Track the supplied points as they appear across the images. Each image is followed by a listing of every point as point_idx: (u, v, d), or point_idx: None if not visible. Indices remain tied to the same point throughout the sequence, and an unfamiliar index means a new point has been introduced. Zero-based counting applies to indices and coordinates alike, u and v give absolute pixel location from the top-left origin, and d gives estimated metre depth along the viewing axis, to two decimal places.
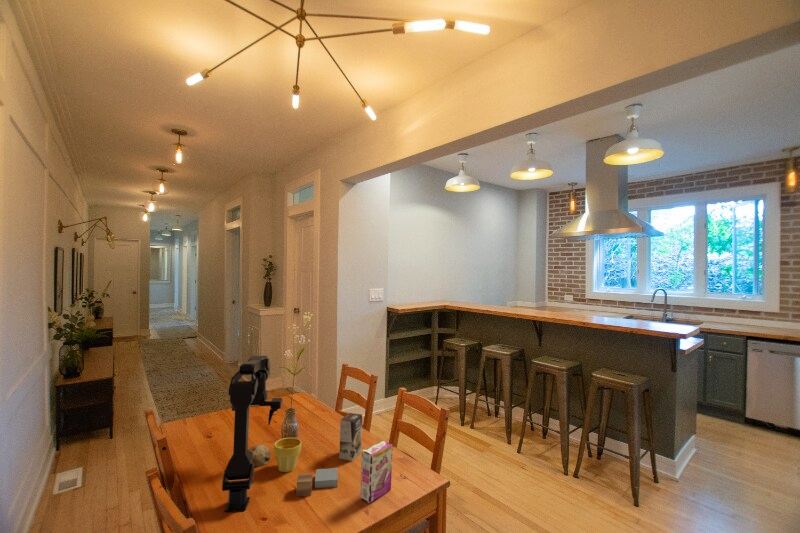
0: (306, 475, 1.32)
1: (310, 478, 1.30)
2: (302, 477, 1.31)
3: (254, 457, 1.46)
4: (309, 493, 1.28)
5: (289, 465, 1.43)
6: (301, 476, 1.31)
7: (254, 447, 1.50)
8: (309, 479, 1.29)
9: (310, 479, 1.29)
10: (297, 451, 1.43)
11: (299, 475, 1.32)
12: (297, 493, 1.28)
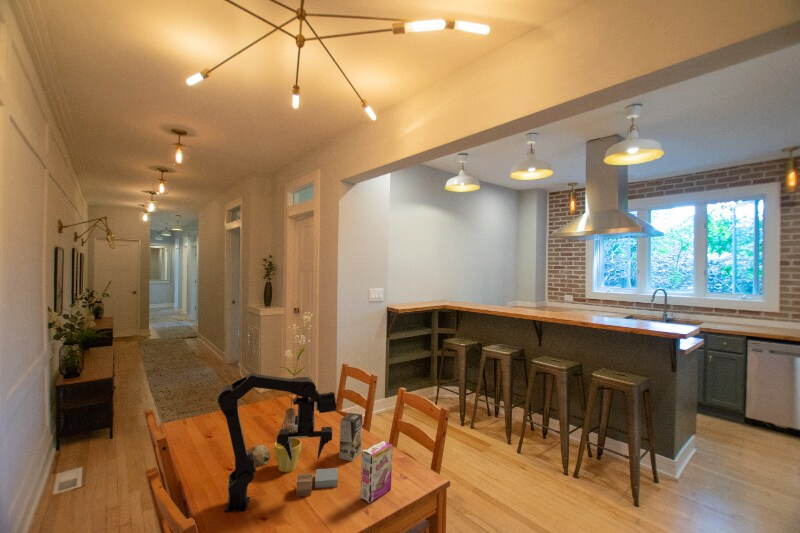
0: (306, 475, 1.32)
1: (310, 478, 1.30)
2: (302, 477, 1.31)
3: (254, 457, 1.46)
4: (309, 493, 1.28)
5: (289, 465, 1.43)
6: (301, 476, 1.31)
7: (254, 447, 1.50)
8: (309, 479, 1.29)
9: (310, 479, 1.29)
10: (297, 451, 1.43)
11: (299, 475, 1.32)
12: (297, 493, 1.28)
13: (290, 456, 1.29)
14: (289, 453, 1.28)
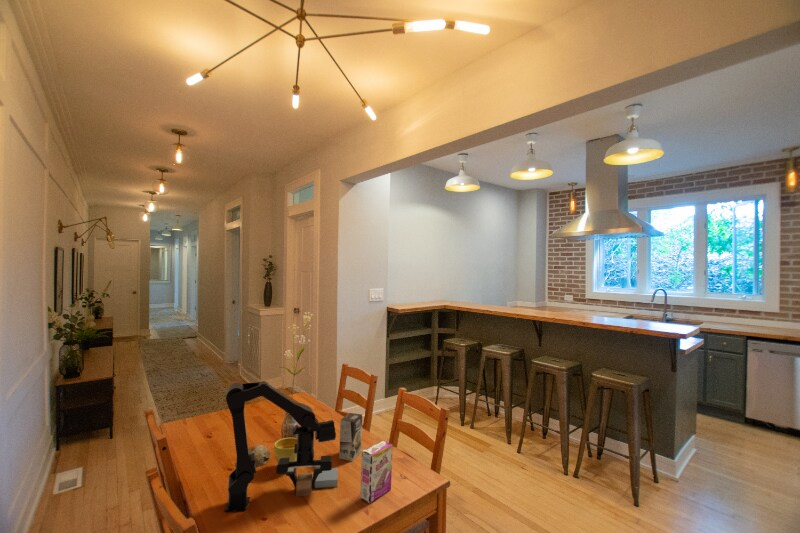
0: (306, 475, 1.32)
1: (310, 478, 1.30)
2: (302, 476, 1.31)
3: None
4: (309, 493, 1.28)
5: None
6: (301, 476, 1.31)
7: (253, 447, 1.50)
8: (309, 479, 1.29)
9: (310, 479, 1.29)
10: None
11: (299, 475, 1.32)
12: (297, 493, 1.28)
13: (295, 485, 1.29)
14: (294, 483, 1.28)
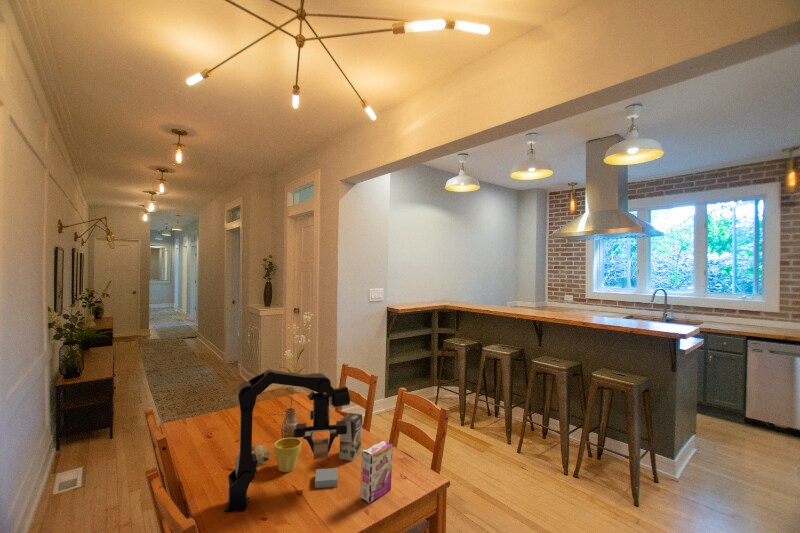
0: (322, 439, 1.36)
1: (326, 442, 1.35)
2: (318, 441, 1.35)
3: None
4: (326, 456, 1.33)
5: (289, 465, 1.43)
6: (318, 440, 1.35)
7: (253, 447, 1.50)
8: (326, 443, 1.34)
9: (327, 443, 1.34)
10: (297, 451, 1.43)
11: (315, 439, 1.36)
12: (314, 456, 1.32)
13: (312, 449, 1.34)
14: (311, 446, 1.33)
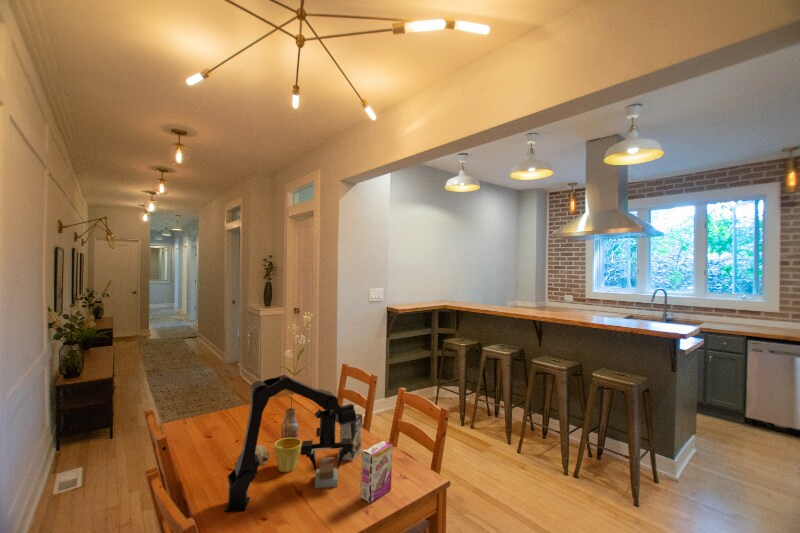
0: (328, 459, 1.39)
1: (332, 461, 1.37)
2: (324, 460, 1.37)
3: None
4: (331, 475, 1.35)
5: (289, 465, 1.43)
6: (323, 460, 1.38)
7: None
8: (331, 462, 1.36)
9: (332, 462, 1.36)
10: (297, 451, 1.43)
11: (321, 459, 1.38)
12: (320, 475, 1.34)
13: (315, 467, 1.35)
14: (314, 464, 1.35)
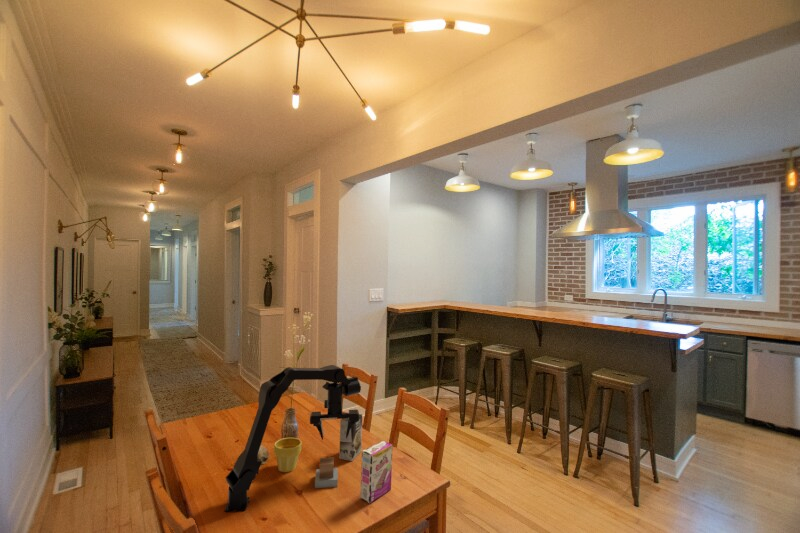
0: (328, 459, 1.39)
1: (332, 461, 1.37)
2: (324, 460, 1.37)
3: None
4: (331, 475, 1.35)
5: (289, 465, 1.43)
6: (323, 460, 1.38)
7: None
8: (331, 462, 1.36)
9: (332, 462, 1.36)
10: (297, 451, 1.43)
11: (321, 459, 1.38)
12: (320, 475, 1.34)
13: (322, 436, 1.43)
14: (321, 433, 1.42)
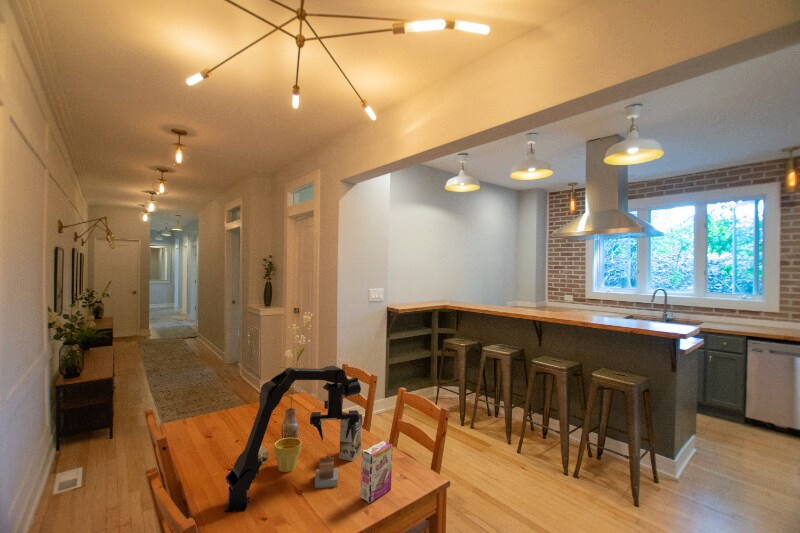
0: (328, 459, 1.39)
1: (332, 461, 1.37)
2: (324, 460, 1.37)
3: None
4: (331, 475, 1.35)
5: (289, 465, 1.43)
6: (323, 460, 1.38)
7: None
8: (331, 462, 1.36)
9: (332, 462, 1.36)
10: (297, 451, 1.43)
11: (321, 459, 1.38)
12: (320, 475, 1.34)
13: (321, 436, 1.43)
14: (321, 433, 1.43)
